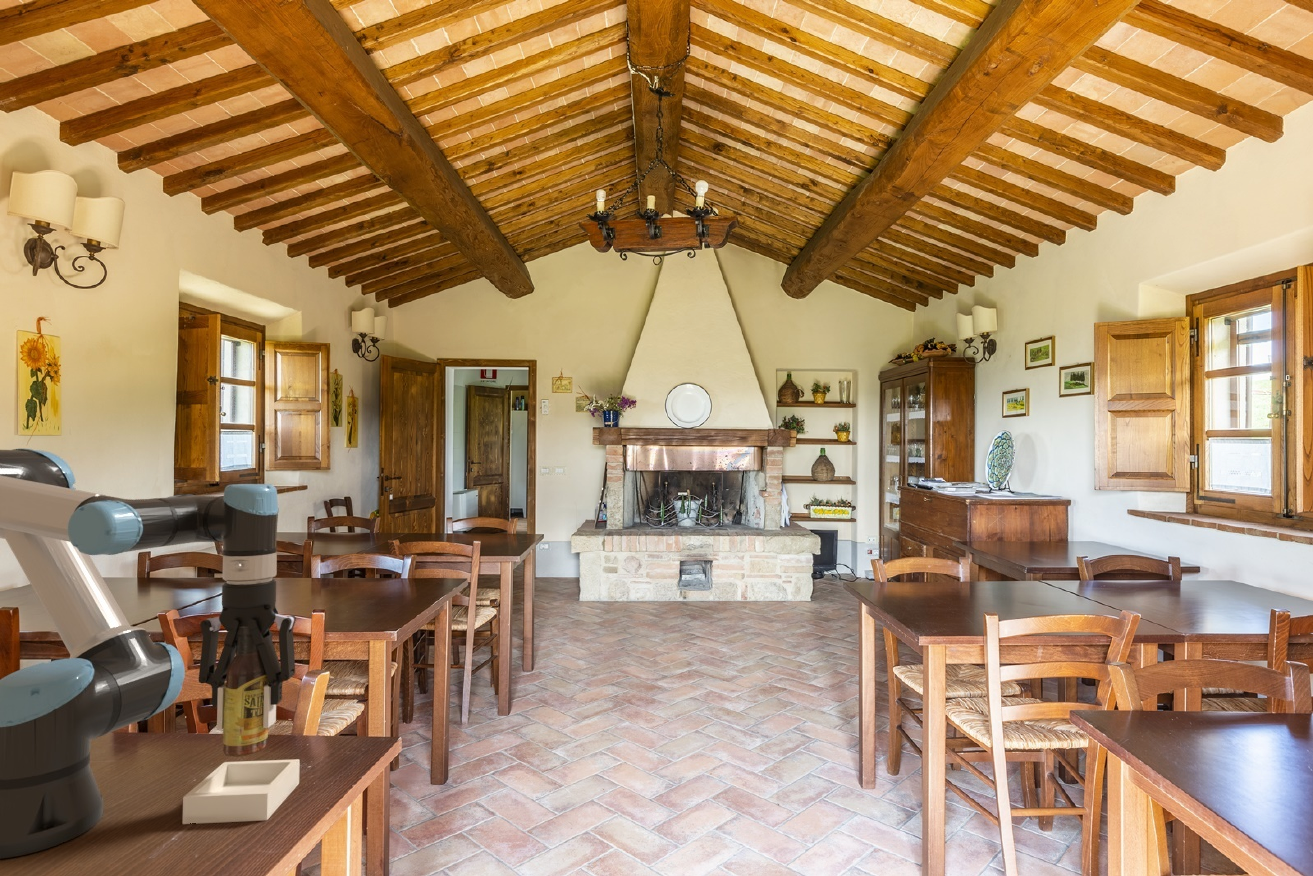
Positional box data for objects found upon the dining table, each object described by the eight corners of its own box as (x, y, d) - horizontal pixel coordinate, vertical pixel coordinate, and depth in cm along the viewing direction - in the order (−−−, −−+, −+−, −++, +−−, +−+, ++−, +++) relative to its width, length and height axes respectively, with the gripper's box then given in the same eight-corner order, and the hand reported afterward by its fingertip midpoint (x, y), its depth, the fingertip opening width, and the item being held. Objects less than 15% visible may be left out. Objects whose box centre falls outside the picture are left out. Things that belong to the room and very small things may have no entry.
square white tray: (182, 824, 104) (183, 797, 104) (223, 786, 116) (224, 762, 116) (267, 820, 105) (267, 793, 105) (299, 783, 117) (299, 759, 117)
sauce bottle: (247, 760, 107) (249, 630, 107) (212, 757, 108) (215, 628, 108) (278, 743, 113) (280, 621, 114) (245, 740, 114) (247, 619, 115)
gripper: (172, 585, 107) (168, 737, 106) (302, 583, 109) (300, 732, 108) (199, 577, 114) (195, 719, 113) (320, 575, 116) (318, 714, 115)
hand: (246, 725), depth 111 cm, fingers closed on sauce bottle, 6 cm apart
